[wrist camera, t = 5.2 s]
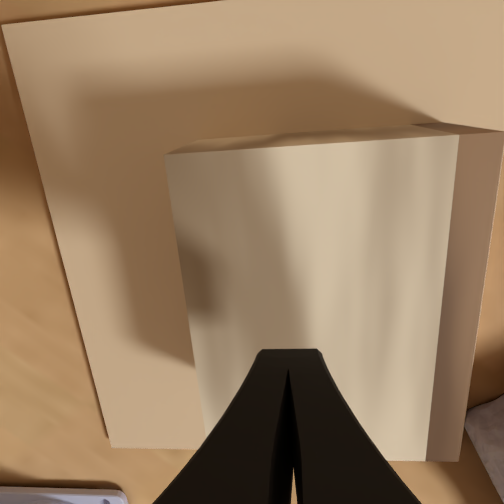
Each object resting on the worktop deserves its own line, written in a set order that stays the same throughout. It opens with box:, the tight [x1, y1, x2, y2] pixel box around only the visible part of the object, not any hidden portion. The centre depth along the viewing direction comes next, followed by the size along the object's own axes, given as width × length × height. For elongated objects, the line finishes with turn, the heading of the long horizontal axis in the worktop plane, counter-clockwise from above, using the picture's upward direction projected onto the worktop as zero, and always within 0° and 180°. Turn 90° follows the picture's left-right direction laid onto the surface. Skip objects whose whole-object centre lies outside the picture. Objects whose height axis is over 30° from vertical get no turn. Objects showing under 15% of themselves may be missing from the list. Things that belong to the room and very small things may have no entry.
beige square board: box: [1, 0, 504, 451], centre depth 15 cm, size 16×18×1 cm
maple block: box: [164, 122, 504, 462], centre depth 13 cm, size 4×10×8 cm
